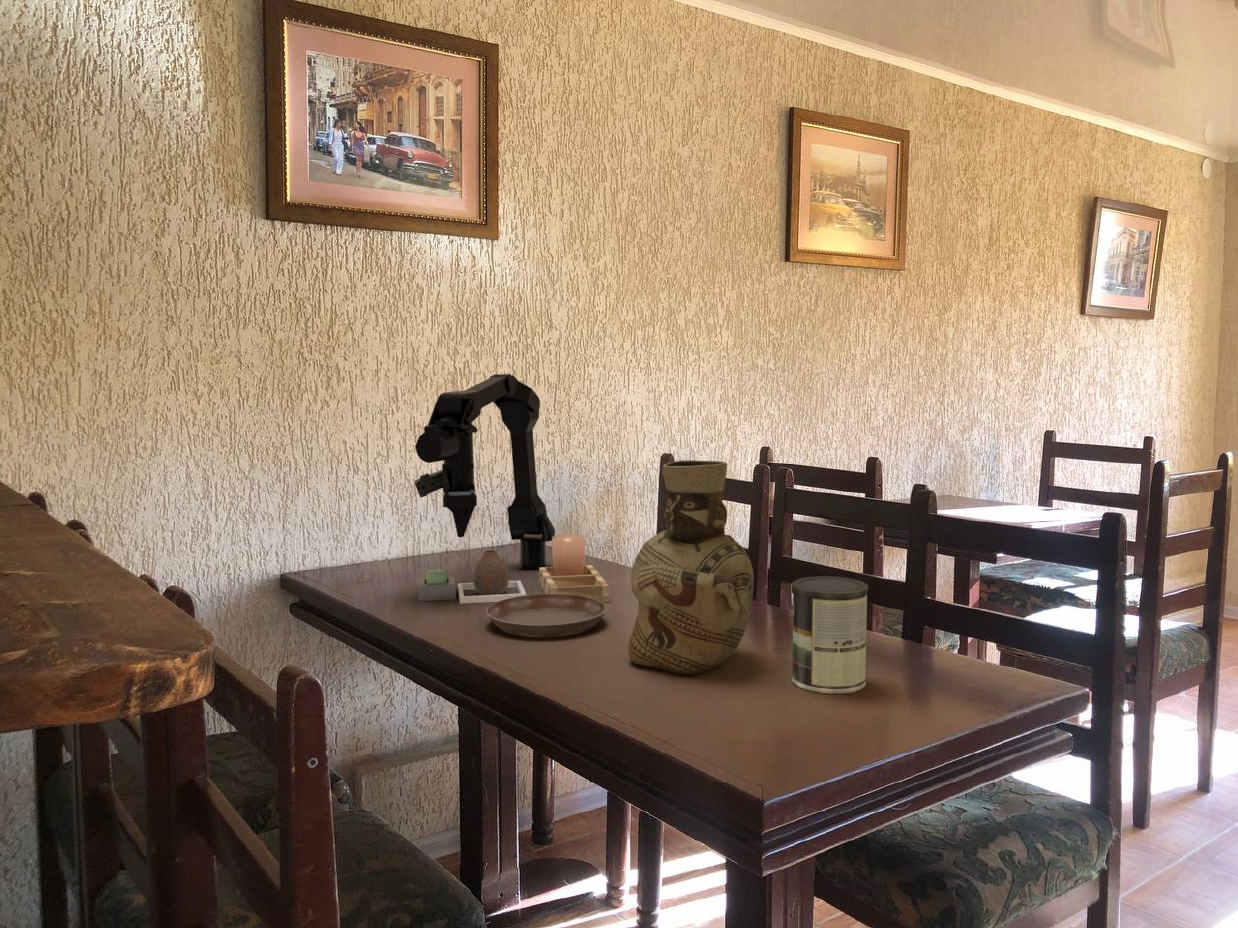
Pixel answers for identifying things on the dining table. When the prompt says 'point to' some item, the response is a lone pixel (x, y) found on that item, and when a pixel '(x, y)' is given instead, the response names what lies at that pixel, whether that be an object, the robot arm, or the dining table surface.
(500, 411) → the robot arm
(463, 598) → the white square frame
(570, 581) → the pallet
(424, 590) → the button housing
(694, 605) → the ceramic vessel
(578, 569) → the block
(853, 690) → the coffee can
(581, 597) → the plant saucer
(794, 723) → the dining table surface
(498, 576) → the vase
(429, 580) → the button
